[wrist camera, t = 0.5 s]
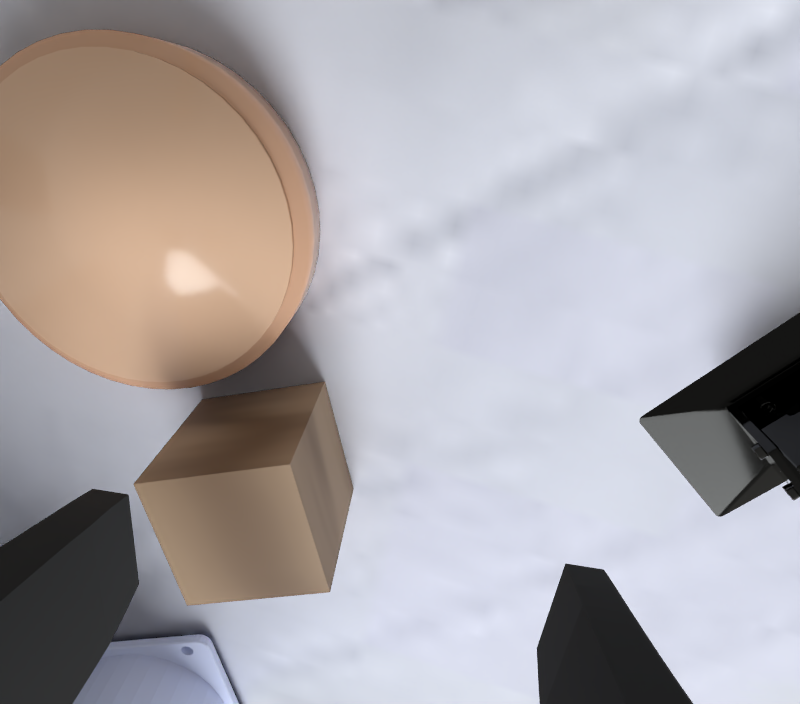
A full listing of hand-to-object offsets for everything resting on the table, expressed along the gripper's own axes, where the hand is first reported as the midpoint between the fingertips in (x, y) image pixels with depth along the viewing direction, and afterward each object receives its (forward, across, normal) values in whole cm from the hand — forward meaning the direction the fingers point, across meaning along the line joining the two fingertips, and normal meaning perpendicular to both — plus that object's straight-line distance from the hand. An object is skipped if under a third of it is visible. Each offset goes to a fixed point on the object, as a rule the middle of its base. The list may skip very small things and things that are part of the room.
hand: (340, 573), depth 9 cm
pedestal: (+10, +8, -2) cm, 13 cm away
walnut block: (+10, +4, +5) cm, 12 cm away
